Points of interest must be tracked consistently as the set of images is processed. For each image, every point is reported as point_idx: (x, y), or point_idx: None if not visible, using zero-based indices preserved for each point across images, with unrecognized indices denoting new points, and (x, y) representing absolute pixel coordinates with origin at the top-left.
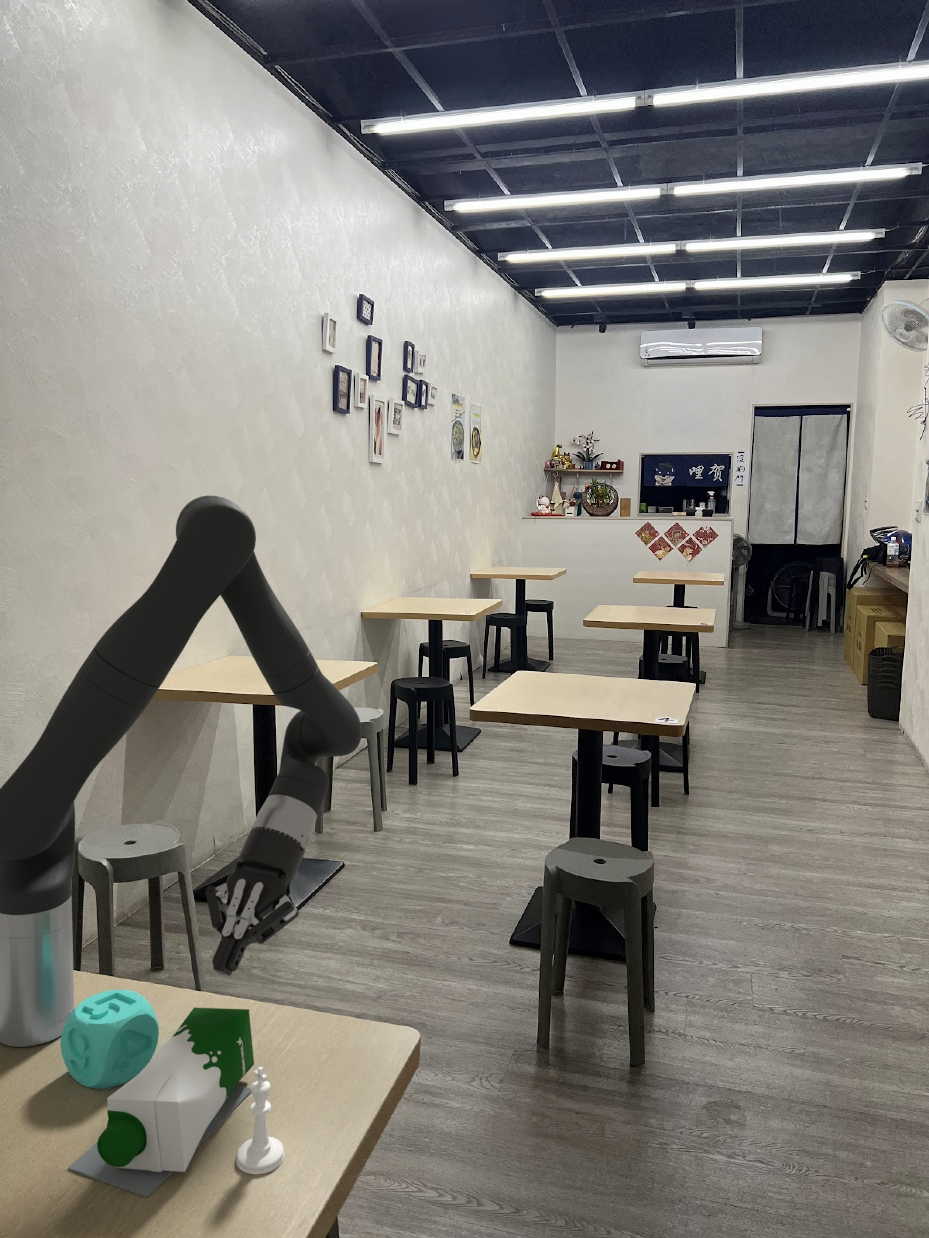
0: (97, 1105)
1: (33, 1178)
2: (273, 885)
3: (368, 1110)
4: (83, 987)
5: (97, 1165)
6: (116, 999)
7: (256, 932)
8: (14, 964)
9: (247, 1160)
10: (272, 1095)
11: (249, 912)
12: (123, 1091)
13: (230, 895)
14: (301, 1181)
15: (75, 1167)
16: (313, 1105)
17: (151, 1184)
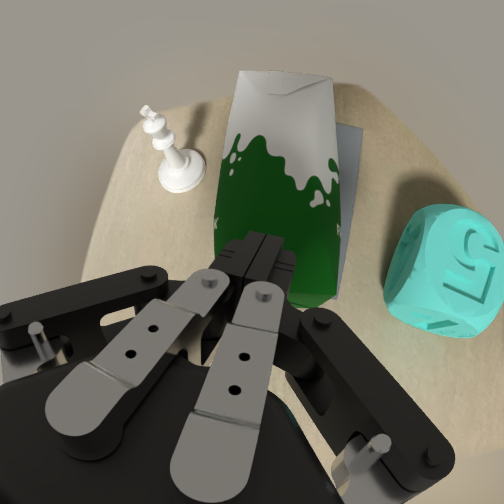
0: (399, 214)
1: (382, 120)
2: (21, 424)
3: (89, 259)
4: None
5: (337, 133)
6: (475, 296)
7: (137, 271)
8: None
9: (188, 151)
10: (194, 268)
11: (151, 313)
12: (316, 79)
13: (295, 438)
14: (141, 155)
15: (355, 129)
16: (142, 258)
17: None
